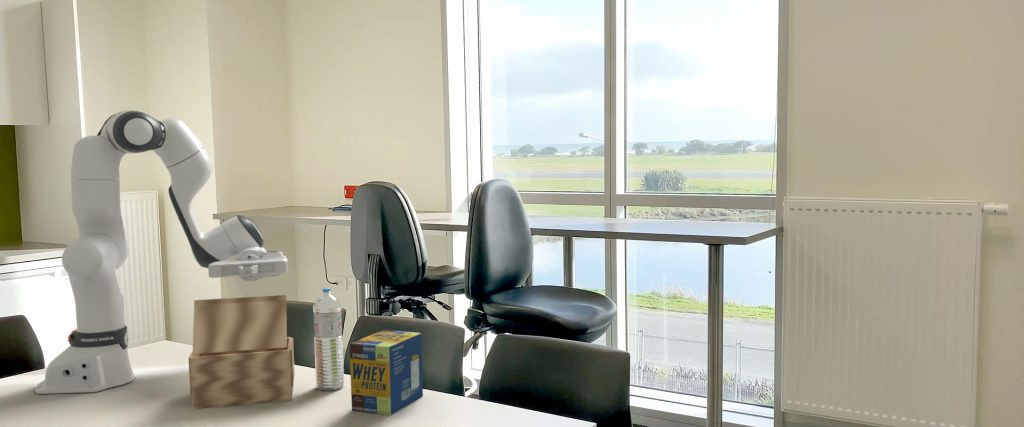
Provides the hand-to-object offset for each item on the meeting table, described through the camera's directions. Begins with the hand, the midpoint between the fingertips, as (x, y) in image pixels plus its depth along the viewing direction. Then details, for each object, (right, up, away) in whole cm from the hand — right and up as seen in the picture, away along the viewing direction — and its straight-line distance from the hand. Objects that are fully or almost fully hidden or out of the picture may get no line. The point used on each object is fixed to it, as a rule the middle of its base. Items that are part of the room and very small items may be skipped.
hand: (246, 271), depth 203 cm
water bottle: (+24, -29, -8) cm, 38 cm away
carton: (+4, -29, -14) cm, 33 cm away
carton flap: (+5, -11, -18) cm, 22 cm away
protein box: (+40, -29, -21) cm, 54 cm away
